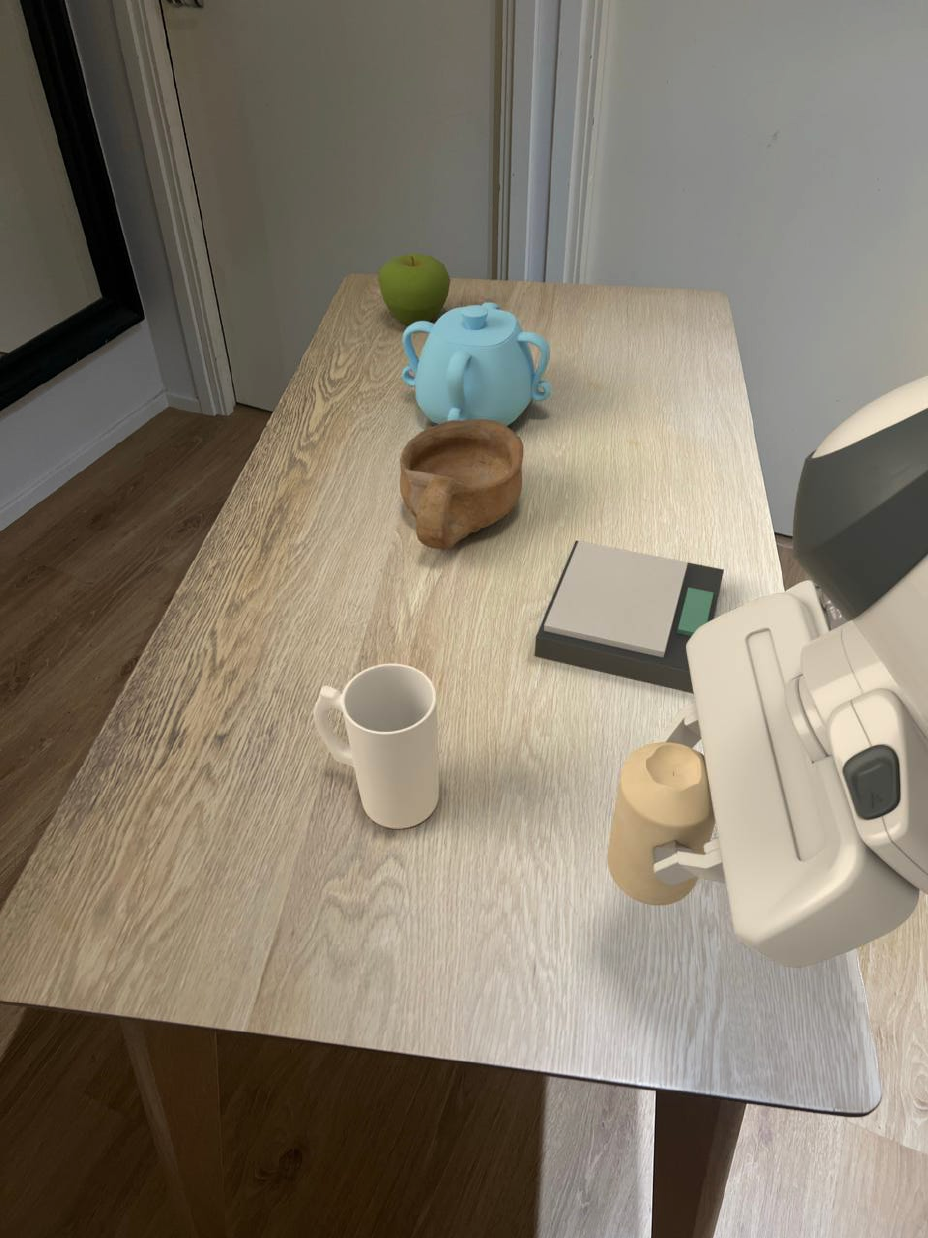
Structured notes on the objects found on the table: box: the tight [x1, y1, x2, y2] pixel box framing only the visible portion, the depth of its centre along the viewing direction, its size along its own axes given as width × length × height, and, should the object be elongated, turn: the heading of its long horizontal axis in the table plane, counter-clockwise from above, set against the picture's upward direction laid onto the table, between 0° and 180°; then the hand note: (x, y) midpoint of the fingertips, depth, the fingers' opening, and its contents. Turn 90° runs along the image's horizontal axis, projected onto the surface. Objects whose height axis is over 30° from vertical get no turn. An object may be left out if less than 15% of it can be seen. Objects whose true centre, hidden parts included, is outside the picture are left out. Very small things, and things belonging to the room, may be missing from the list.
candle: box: [607, 742, 716, 907], centre depth 50 cm, size 6×6×10 cm
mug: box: [313, 663, 440, 830], centre depth 68 cm, size 10×7×12 cm, turn 69°
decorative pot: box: [401, 301, 553, 427], centre depth 110 cm, size 16×16×14 cm
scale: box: [534, 540, 725, 694], centre depth 85 cm, size 15×15×3 cm
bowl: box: [399, 419, 525, 550], centre depth 95 cm, size 18×14×10 cm
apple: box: [377, 253, 451, 327], centre depth 131 cm, size 11×10×10 cm
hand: (653, 815), depth 50 cm, fingers closed on candle, 5 cm apart
